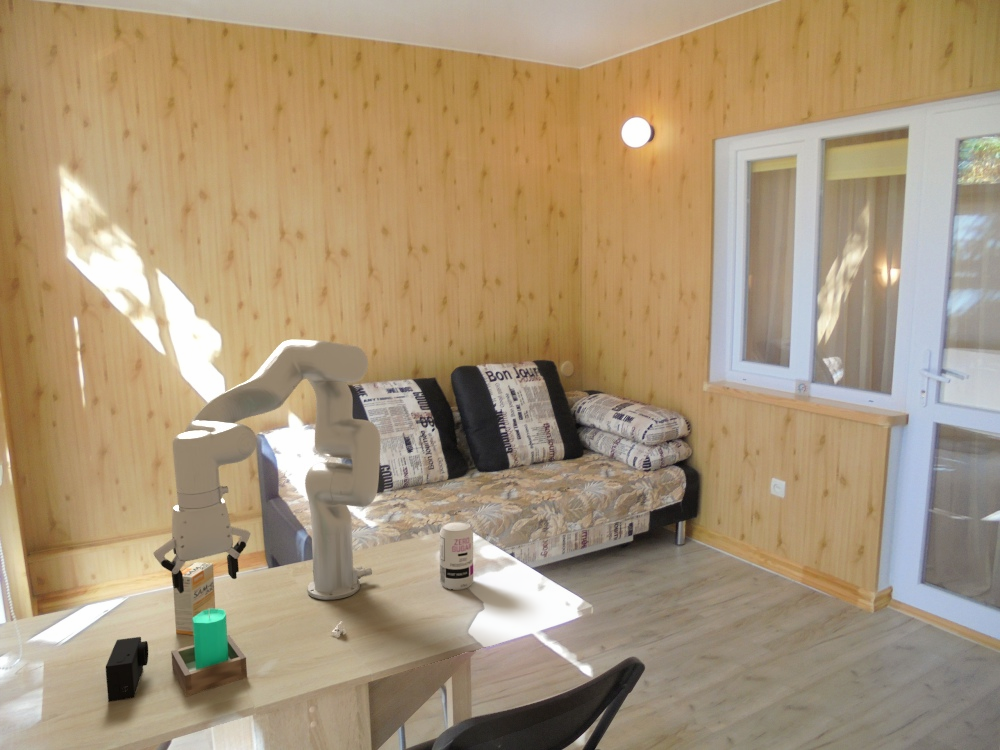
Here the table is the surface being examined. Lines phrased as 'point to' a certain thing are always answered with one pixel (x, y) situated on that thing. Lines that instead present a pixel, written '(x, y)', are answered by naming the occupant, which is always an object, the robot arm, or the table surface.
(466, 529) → the supplement can
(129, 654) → the digital camera
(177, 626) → the supplement box
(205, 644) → the candle
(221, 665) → the open wooden box
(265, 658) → the table surface
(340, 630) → the white irregular piece
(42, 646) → the table surface
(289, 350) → the robot arm
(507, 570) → the table surface
